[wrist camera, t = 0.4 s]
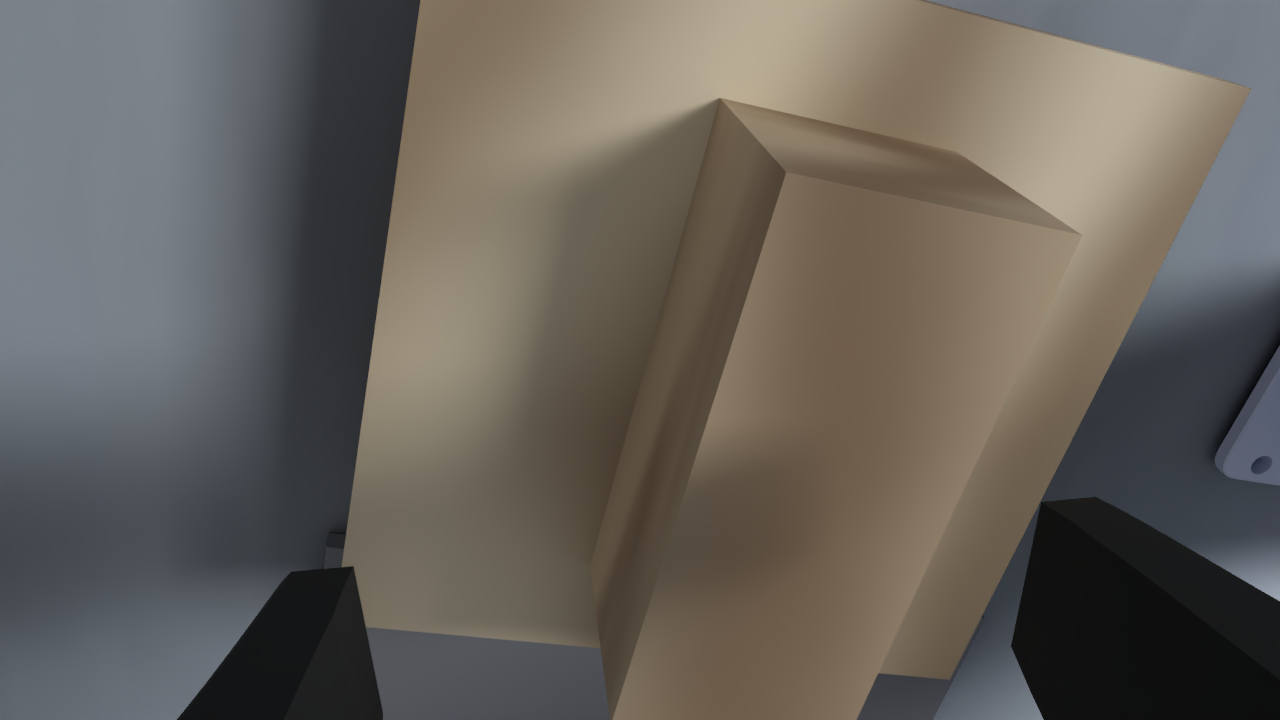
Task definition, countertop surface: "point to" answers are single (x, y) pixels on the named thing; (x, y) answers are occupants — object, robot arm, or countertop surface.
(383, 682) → the charcoal mat
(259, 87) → the countertop surface
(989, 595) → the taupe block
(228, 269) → the countertop surface
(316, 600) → the robot arm
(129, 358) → the countertop surface
